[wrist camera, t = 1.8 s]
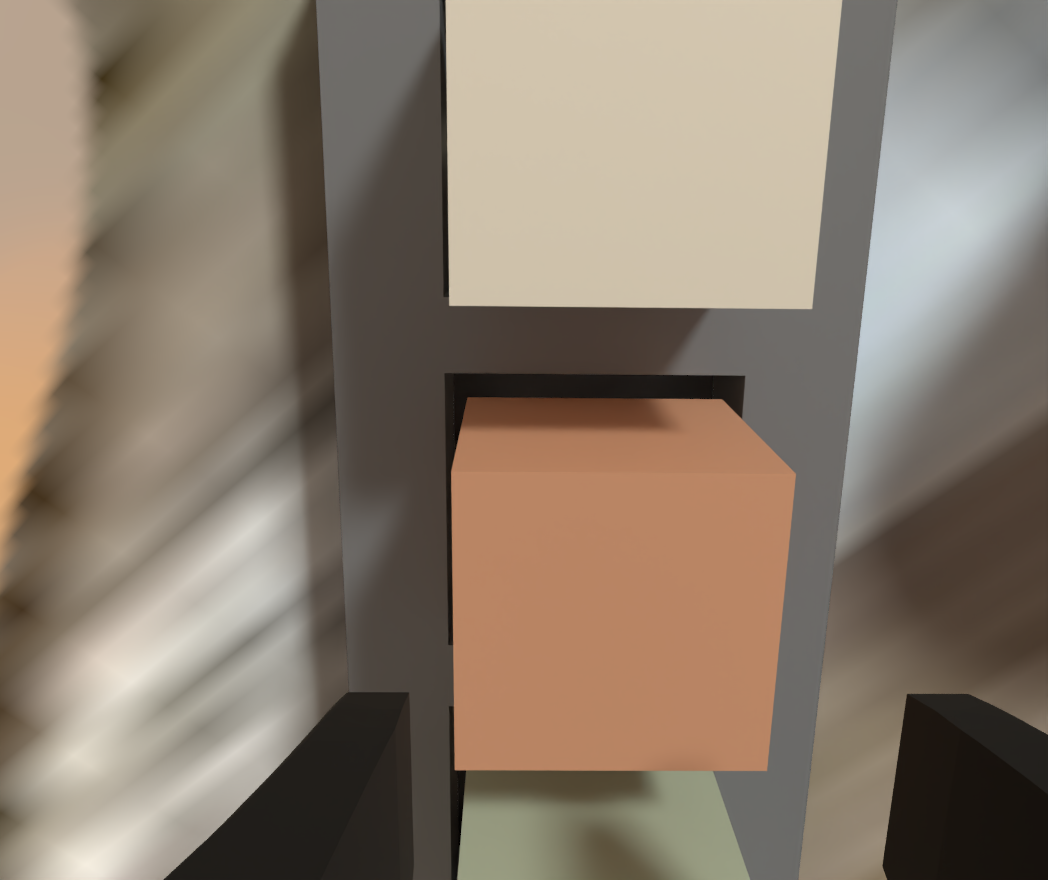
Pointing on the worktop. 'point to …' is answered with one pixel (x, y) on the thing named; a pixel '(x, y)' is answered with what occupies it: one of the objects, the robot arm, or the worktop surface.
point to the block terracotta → (615, 585)
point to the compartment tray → (559, 348)
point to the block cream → (637, 151)
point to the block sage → (596, 826)
